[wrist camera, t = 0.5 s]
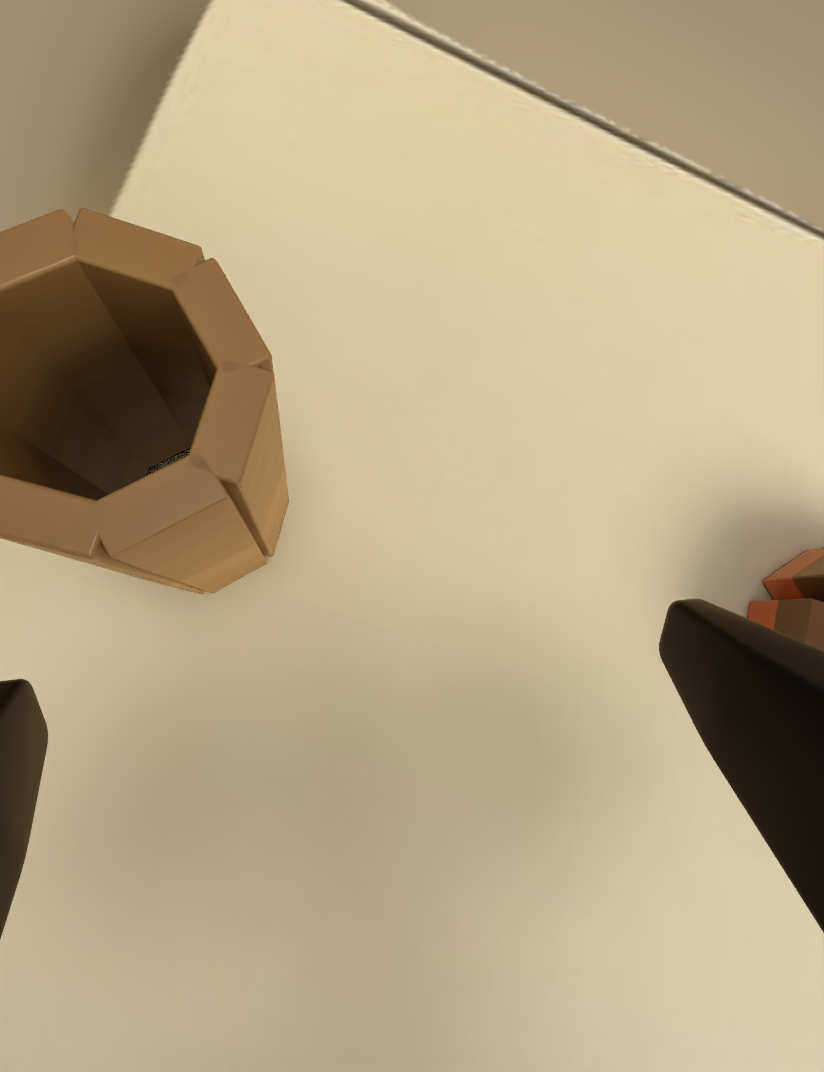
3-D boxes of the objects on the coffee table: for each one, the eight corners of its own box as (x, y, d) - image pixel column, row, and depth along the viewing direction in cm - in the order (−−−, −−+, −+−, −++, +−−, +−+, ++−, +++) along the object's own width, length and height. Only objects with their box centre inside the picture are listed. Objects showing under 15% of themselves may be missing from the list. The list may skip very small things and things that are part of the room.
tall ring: (314, 537, 23) (325, 446, 11) (161, 621, 22) (-4, 617, 10) (233, 397, 23) (163, 166, 12) (77, 472, 22) (-180, 298, 10)
